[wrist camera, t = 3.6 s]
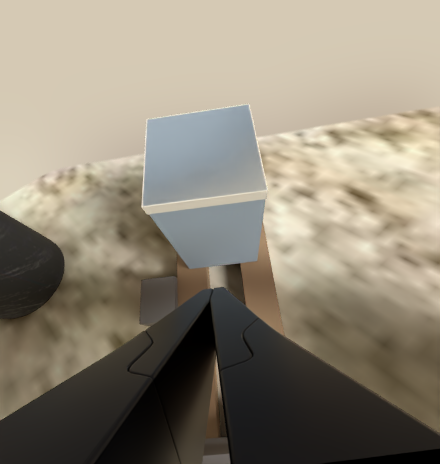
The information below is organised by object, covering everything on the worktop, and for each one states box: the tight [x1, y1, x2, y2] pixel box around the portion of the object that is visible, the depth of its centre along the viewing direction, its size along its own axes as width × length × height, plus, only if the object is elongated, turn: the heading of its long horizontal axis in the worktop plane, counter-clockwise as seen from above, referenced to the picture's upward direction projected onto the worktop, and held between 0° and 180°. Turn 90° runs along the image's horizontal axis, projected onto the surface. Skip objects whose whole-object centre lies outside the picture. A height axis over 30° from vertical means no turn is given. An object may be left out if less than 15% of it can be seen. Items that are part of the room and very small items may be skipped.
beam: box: [140, 221, 284, 464], centre depth 17 cm, size 24×9×4 cm, turn 5°
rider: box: [142, 104, 268, 269], centre depth 16 cm, size 5×5×11 cm
